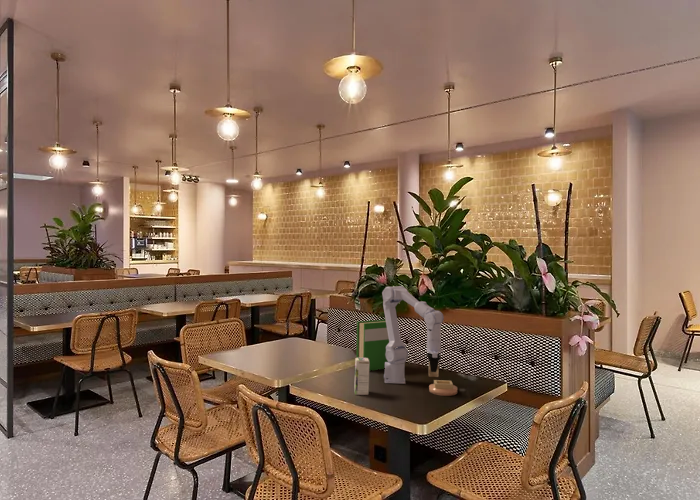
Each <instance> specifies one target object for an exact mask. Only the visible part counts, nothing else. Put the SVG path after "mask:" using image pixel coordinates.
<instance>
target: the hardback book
mask: <svg viewBox="0 0 700 500" xmlns="http://www.w3.org/2000/svg"><path fill="white" fill-rule="evenodd" d="M388 343H389V337H388V331H387V325H386V319H376V320H375V319H372V320H361V321H356V358H368V359H369V372H370V371H371V370H372V371H378V369H379V370H385V369H384V368H385V362H388V361H387V359H386V346H387V345H388ZM372 371H371V372H372Z"/></svg>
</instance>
